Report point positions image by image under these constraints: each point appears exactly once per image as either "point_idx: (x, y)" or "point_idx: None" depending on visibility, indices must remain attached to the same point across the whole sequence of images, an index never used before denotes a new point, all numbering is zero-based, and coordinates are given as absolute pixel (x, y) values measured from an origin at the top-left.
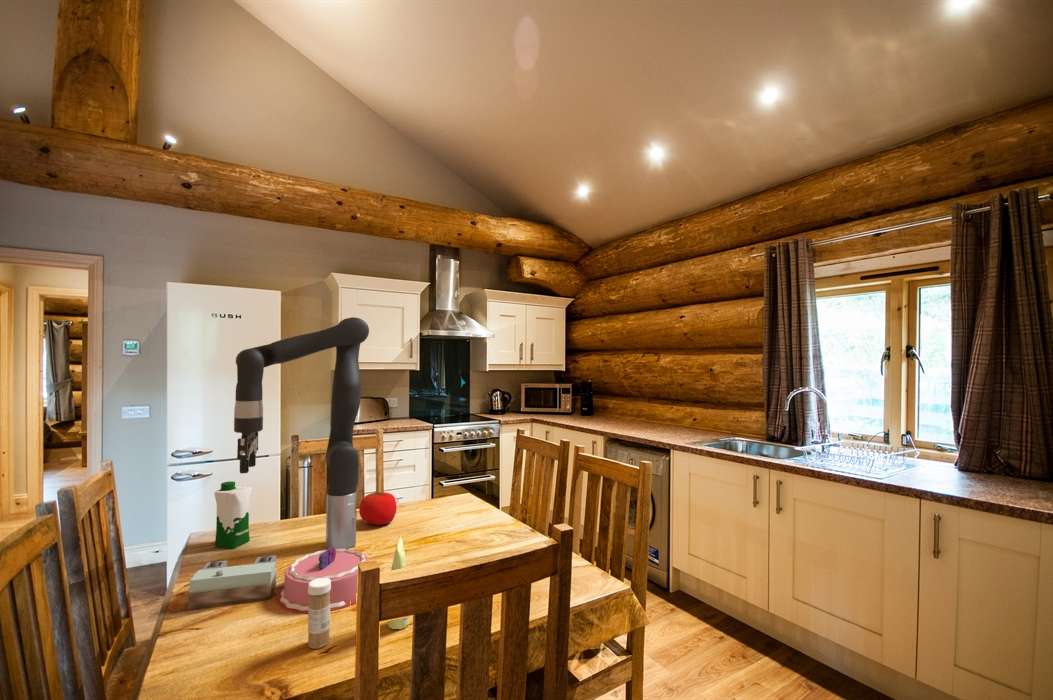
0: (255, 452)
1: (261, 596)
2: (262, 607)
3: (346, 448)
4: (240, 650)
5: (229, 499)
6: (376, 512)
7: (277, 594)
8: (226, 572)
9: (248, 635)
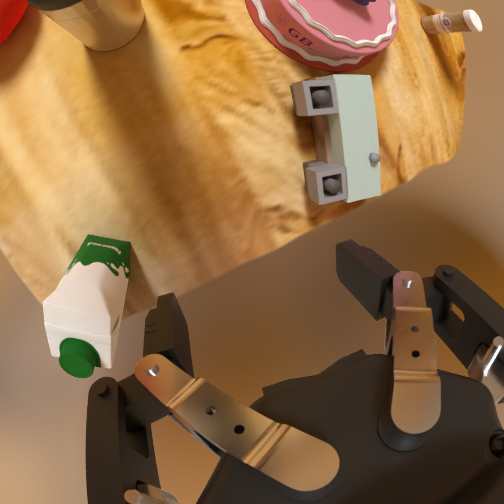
0: (169, 362)
1: None
2: None
3: None
4: (433, 92)
5: (114, 318)
6: None
7: (338, 70)
8: (365, 149)
9: (416, 88)
